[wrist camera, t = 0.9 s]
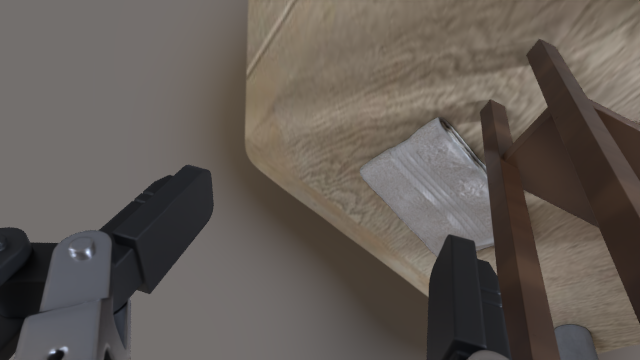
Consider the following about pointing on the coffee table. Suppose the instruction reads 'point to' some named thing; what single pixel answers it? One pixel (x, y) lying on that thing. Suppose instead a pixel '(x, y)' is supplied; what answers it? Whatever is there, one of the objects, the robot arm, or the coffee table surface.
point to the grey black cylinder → (575, 343)
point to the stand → (559, 193)
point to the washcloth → (435, 186)
